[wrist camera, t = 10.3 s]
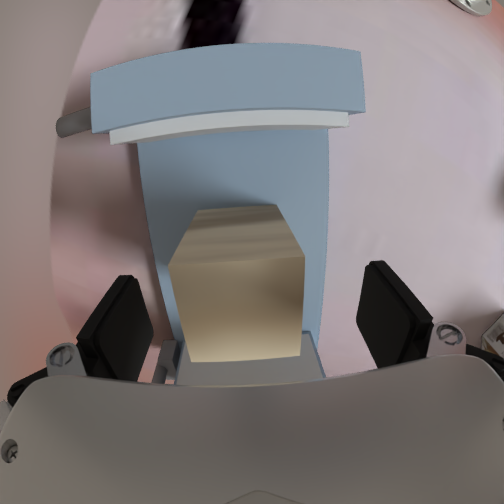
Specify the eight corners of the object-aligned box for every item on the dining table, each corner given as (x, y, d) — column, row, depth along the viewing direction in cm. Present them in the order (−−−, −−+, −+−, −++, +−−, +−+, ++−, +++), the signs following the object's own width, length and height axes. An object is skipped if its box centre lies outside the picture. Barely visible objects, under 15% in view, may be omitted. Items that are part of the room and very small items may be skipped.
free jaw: (90, 109, 13) (23, 103, 7) (314, 82, 14) (360, 51, 7) (93, 154, 15) (27, 169, 8) (317, 130, 15) (366, 127, 9)
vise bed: (113, 107, 15) (10, 93, 5) (320, 87, 15) (403, 42, 6) (161, 351, 23) (136, 445, 14) (314, 343, 23) (344, 438, 14)
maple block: (197, 210, 17) (167, 265, 10) (276, 204, 17) (305, 256, 10) (206, 279, 19) (191, 362, 12) (278, 274, 19) (299, 355, 12)
